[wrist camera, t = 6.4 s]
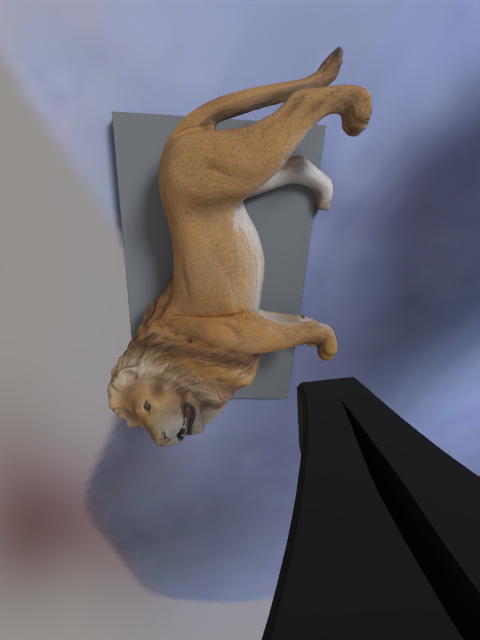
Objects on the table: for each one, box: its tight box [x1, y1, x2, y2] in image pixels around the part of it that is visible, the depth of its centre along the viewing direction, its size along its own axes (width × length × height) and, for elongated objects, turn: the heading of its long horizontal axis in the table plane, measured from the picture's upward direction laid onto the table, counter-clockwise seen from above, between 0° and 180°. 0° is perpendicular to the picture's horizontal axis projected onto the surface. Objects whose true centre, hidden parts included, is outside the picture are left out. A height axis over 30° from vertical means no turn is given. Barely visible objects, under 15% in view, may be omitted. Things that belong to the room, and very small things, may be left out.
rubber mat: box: [112, 112, 326, 399], centre depth 17 cm, size 8×13×1 cm, turn 177°
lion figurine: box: [108, 47, 372, 447], centre depth 14 cm, size 15×5×9 cm
